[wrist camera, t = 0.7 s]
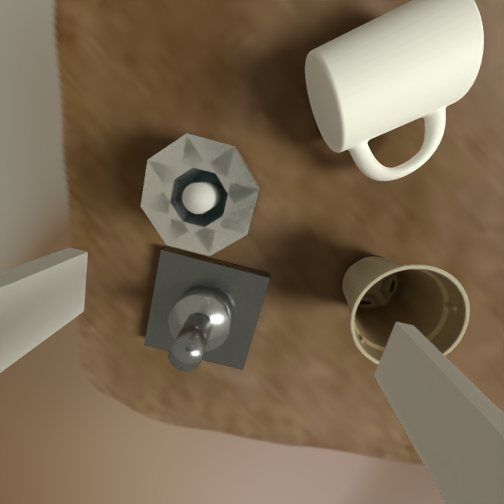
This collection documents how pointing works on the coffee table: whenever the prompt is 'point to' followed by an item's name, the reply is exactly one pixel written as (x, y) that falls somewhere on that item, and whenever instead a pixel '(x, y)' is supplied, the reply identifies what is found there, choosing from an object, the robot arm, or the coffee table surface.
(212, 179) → the stand
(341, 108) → the mug
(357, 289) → the flower pot
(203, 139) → the collar
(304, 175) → the coffee table surface
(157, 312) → the hub
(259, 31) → the coffee table surface
